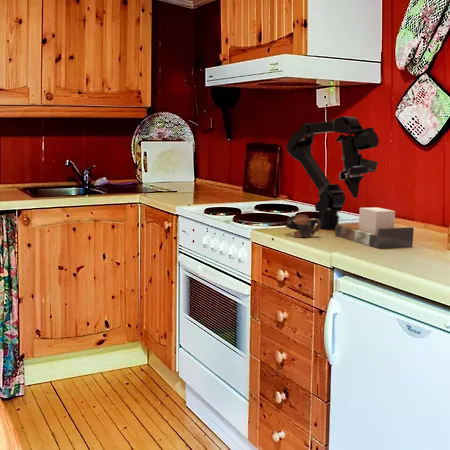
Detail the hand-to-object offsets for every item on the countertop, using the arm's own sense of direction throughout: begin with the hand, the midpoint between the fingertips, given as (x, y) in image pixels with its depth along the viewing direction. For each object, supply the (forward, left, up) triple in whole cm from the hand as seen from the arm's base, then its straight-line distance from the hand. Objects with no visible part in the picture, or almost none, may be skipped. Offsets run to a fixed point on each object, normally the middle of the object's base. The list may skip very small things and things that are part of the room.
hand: (355, 197), depth 216 cm
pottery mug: (-14, -15, -13) cm, 24 cm away
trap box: (+8, -13, -12) cm, 20 cm away
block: (+9, -14, -10) cm, 19 cm away
